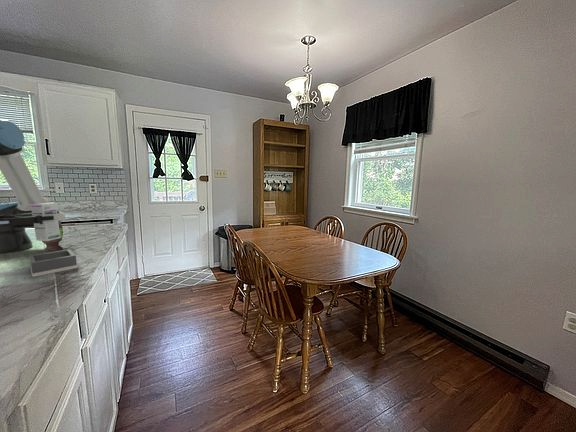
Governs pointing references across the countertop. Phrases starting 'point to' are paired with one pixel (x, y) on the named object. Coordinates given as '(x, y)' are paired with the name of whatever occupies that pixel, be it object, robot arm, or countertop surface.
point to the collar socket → (52, 262)
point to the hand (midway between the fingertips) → (63, 215)
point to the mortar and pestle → (53, 245)
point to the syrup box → (50, 228)
